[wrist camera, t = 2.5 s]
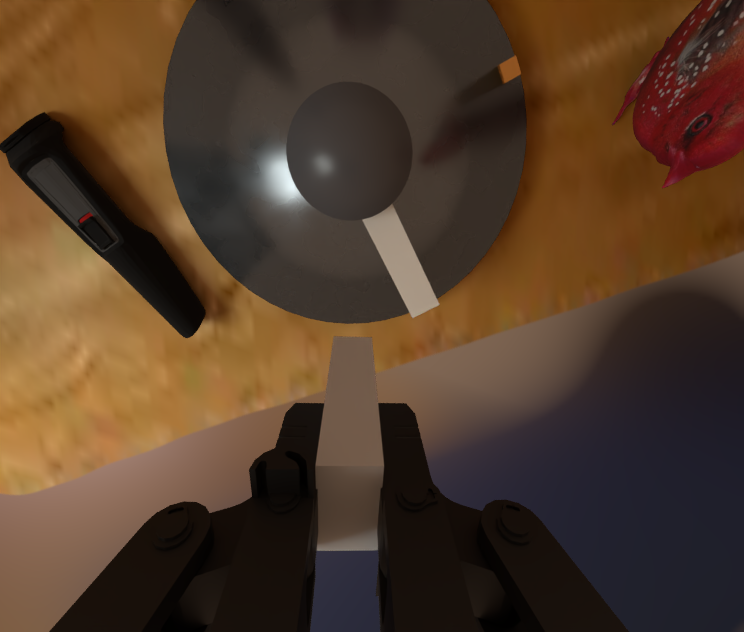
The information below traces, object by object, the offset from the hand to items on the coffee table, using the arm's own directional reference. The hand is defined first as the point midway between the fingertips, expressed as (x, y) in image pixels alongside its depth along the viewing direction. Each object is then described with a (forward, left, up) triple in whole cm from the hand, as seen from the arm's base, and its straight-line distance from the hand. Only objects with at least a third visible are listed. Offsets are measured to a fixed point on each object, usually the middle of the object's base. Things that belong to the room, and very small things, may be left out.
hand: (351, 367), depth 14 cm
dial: (-4, +4, -11) cm, 12 cm away
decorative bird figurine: (-4, +24, -13) cm, 27 cm away
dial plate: (-7, +4, -13) cm, 15 cm away
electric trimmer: (-10, -12, -13) cm, 21 cm away
